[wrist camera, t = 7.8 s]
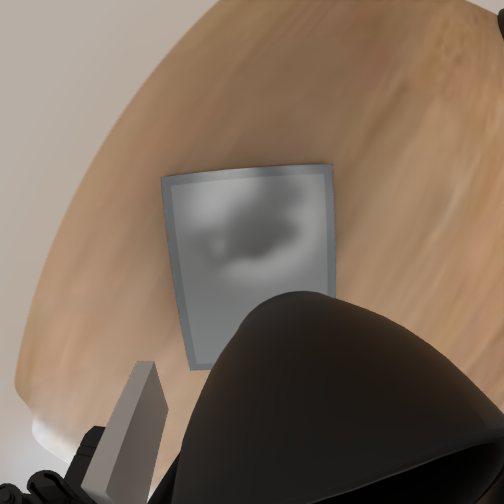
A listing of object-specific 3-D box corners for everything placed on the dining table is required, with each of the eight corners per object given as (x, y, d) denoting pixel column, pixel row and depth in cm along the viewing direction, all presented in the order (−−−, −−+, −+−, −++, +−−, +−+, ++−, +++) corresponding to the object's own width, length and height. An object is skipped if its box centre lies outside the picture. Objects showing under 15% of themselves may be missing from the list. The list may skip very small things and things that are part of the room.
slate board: (164, 177, 24) (160, 177, 23) (327, 164, 24) (332, 164, 23) (191, 363, 28) (190, 370, 27) (329, 350, 29) (333, 356, 27)
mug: (111, 366, 13) (27, 522, 3) (325, 217, 11) (532, 323, 2) (217, 456, 14) (212, 596, 5) (402, 351, 13) (509, 483, 4)
